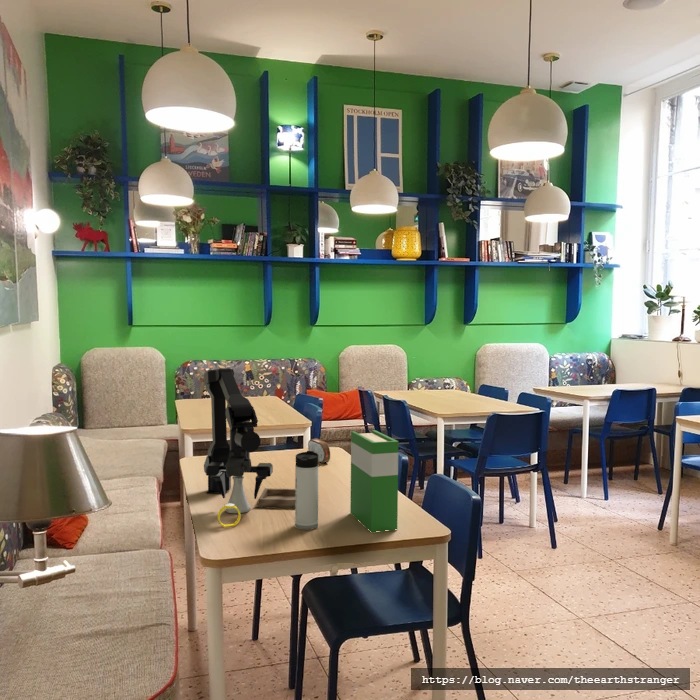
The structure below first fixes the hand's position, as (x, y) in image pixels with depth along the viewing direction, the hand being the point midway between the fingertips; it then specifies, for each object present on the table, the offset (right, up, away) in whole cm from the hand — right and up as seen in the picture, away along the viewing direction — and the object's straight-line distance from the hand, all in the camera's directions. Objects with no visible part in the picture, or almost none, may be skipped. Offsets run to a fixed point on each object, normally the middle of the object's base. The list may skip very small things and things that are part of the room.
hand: (239, 498), depth 183 cm
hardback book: (+39, -5, -9) cm, 40 cm away
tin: (+20, -1, +66) cm, 69 cm away
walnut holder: (+11, -3, +9) cm, 15 cm away
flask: (0, -4, 0) cm, 4 cm away
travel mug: (+21, -5, -13) cm, 25 cm away
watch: (0, -4, -14) cm, 15 cm away
